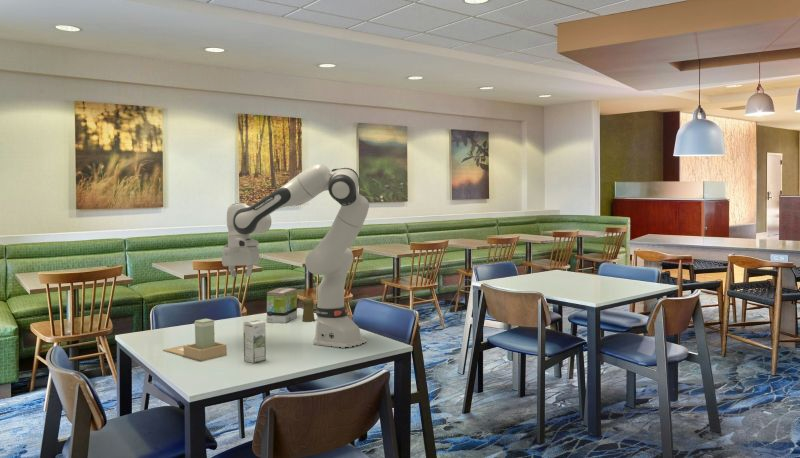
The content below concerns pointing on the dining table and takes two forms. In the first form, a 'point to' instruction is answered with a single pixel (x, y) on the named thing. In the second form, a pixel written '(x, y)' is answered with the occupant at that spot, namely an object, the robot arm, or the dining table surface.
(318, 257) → the robot arm
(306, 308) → the cork
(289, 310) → the tea box
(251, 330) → the syrup box
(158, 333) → the dining table surface
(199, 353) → the box
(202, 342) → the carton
